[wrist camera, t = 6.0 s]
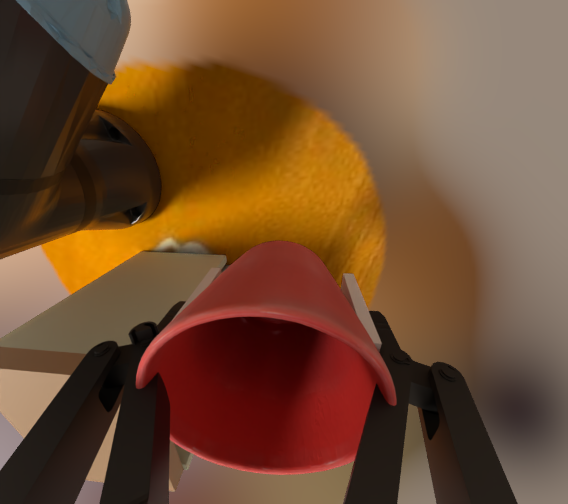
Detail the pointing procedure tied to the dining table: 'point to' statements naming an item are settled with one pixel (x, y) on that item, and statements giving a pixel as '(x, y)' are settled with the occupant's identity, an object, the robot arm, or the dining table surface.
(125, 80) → the dining table surface
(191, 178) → the dining table surface
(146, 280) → the beige open box
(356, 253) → the dining table surface
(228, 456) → the flower pot
